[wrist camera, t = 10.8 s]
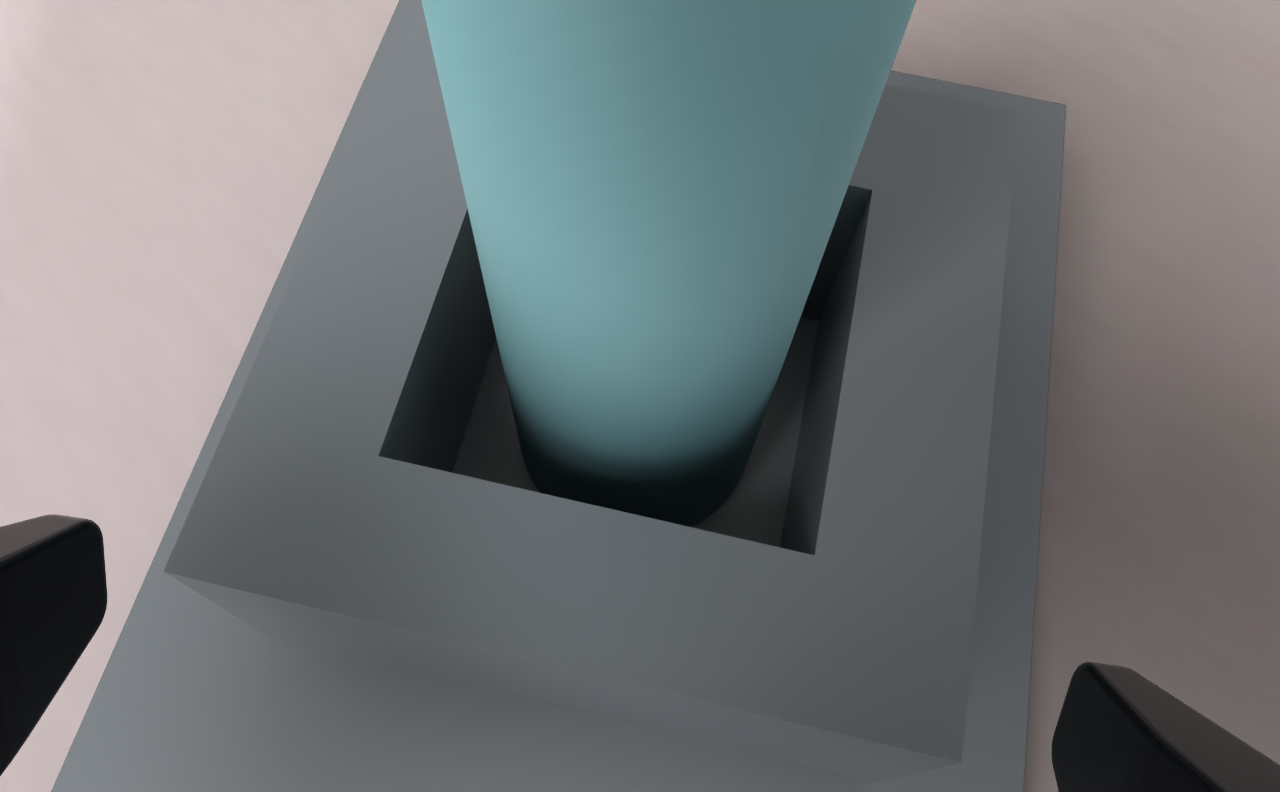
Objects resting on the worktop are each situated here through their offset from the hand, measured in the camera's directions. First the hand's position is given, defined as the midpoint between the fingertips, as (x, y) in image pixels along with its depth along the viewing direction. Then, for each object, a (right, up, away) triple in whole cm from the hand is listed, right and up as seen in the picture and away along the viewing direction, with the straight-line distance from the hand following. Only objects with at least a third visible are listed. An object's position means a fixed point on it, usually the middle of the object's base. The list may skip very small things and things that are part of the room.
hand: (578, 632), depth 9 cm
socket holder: (0, +1, +9) cm, 9 cm away
